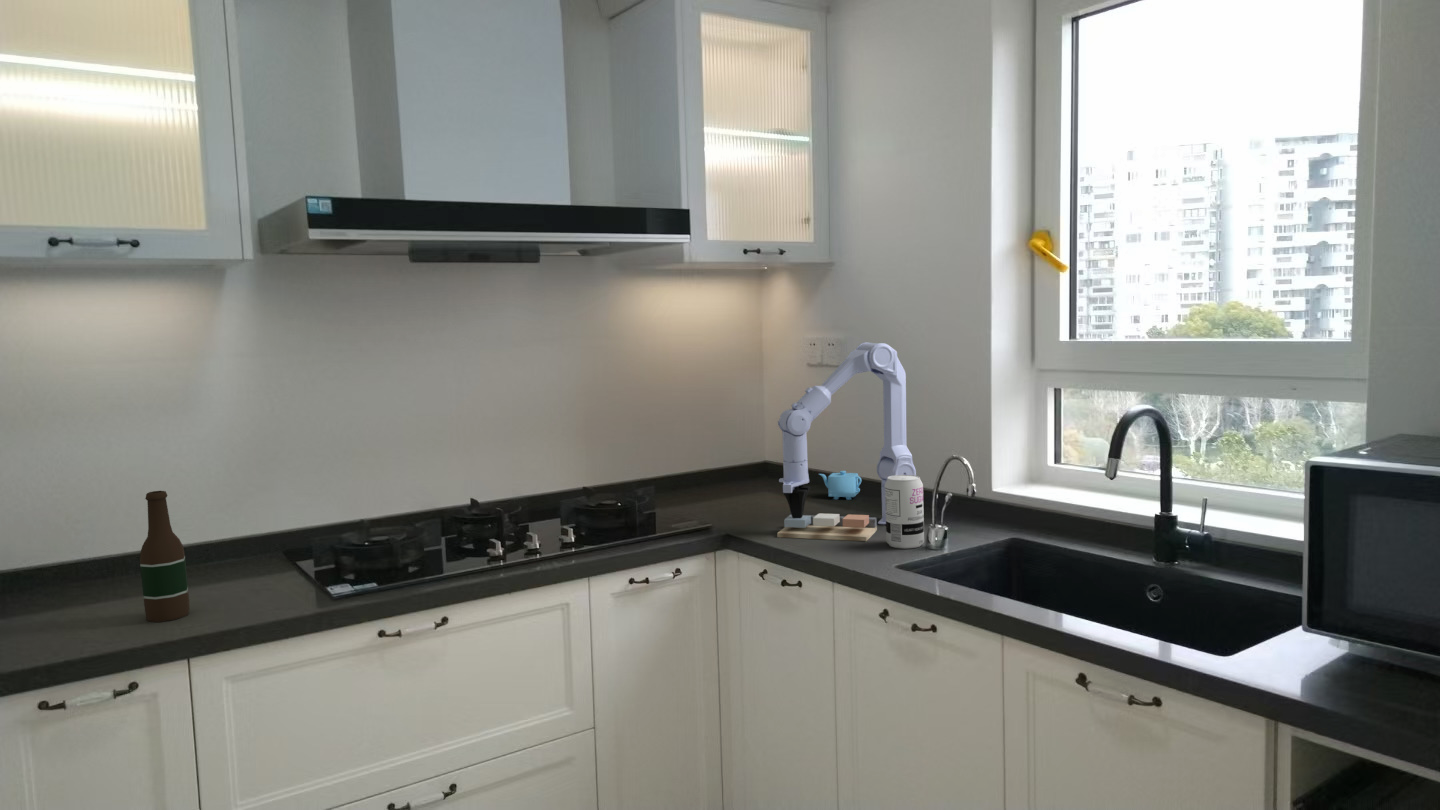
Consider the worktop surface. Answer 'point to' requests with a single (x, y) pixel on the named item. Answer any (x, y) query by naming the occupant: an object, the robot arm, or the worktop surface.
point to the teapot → (842, 484)
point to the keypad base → (831, 531)
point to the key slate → (797, 521)
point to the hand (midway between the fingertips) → (797, 517)
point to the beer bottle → (163, 565)
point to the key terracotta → (855, 520)
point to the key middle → (826, 519)
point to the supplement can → (904, 511)
